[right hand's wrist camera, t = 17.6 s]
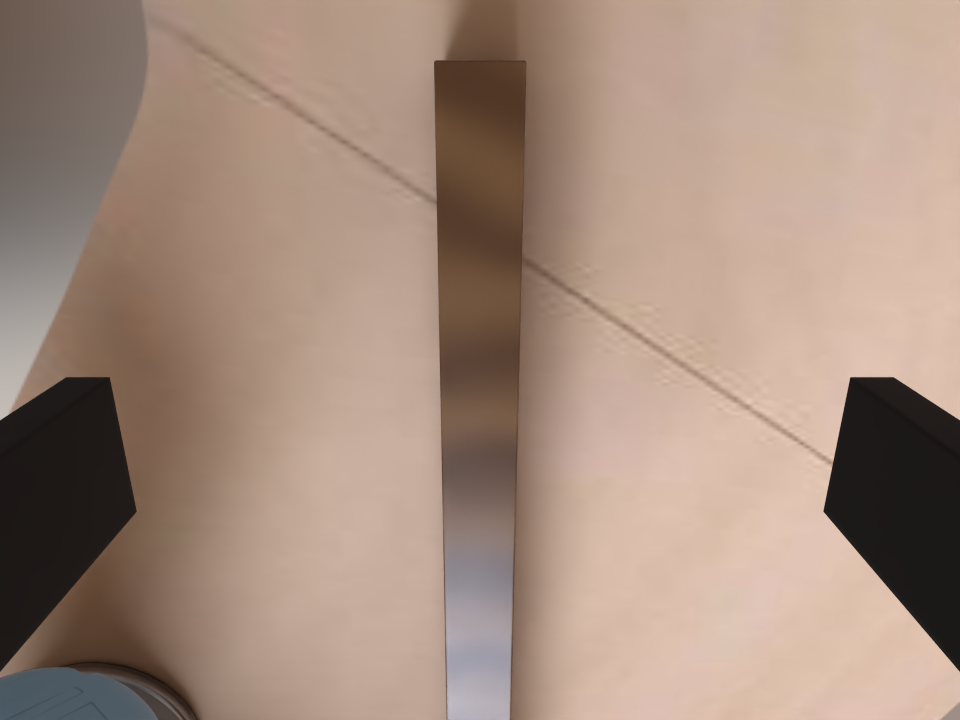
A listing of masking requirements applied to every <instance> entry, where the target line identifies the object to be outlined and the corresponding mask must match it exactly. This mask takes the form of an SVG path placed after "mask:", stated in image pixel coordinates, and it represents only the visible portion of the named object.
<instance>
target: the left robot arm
mask: <svg viewBox="0 0 960 720" xmlns="http://www.w3.org/2000/svg"><path fill="white" fill-rule="evenodd" d="M0 720H196V718H195V716H194V714H193V713H192V711H191V710H190V708H189V707H188V706H187V704H186V703H185V702H184V701H183V700H182V699H181V698H180V697H179V696H178V695H177V694H176V693H175V692H174V691H172V690H171V689H170V688H168V687H167V686H166V685H164V684H163V683H161V682H159V681H158V680H156V679H154V678H152V677H150V676H148V675H146V674H144V673H141V672H139V671H136V670H133V669H130V668H126V667H122V666H118V665H112V664H104V663H81V664H73V665H69V666H64V667H48V668H37V669H31V670H26V671H22V672H17V673H14V674H11V675H8V676H5V677H2V678H0Z"/></svg>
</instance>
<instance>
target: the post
mask: <svg viewBox="0 0 960 720" xmlns="http://www.w3.org/2000/svg"><path fill="white" fill-rule="evenodd" d="M434 79H435V131H436V183H437V235H438V287H439V339H440V391H441V443H442V495H443V547H444V599H445V651H446V703H447V720H511V692H512V650H513V608H514V565H515V523H516V481H517V438H518V396H519V354H520V311H521V269H522V227H523V185H524V142H525V100H526V61H435V62H434Z"/></svg>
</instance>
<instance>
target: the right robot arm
mask: <svg viewBox="0 0 960 720" xmlns="http://www.w3.org/2000/svg"><path fill="white" fill-rule="evenodd" d="M136 512H137V511H136V506H135V501H134V496H133V491H132V486H131V481H130V476H129V471H128V466H127V461H126V456H125V451H124V447H123V442H122V437H121V432H120V427H119V422H118V417H117V412H116V407H115V402H114V397H113V392H112V387H111V382H110V377H66V378H65V379H63V380H62V381H60V382H58V383H57V384H55V385H54V386H52V387H51V388H49V389H48V390H46V391H45V392H43V393H42V394H40V395H38V396H37V397H35V398H34V399H32V400H31V401H29V402H28V403H26V404H25V405H23V406H22V407H20V408H18V409H17V410H15V411H14V412H12V413H11V414H9V415H8V416H6V417H5V418H3V419H2V420H0V671H1V670H2V669H3V668H4V667H5V665H6V664H7V663H8V662H9V661H10V659H11V658H12V657H13V656H14V655H15V654H16V652H17V651H18V650H19V649H20V648H21V647H22V645H23V644H24V643H25V642H26V641H27V640H28V638H29V637H30V636H31V635H32V634H33V632H34V631H35V630H36V629H37V628H38V627H39V625H40V624H41V623H42V622H43V621H44V620H45V618H46V617H47V616H48V615H49V614H50V613H51V611H52V610H53V609H54V608H55V607H56V605H57V604H58V603H59V602H60V601H61V600H62V598H63V597H64V596H65V595H66V594H67V593H68V591H69V590H70V589H71V588H72V587H73V586H74V584H75V583H76V582H77V581H78V580H79V579H80V577H81V576H82V575H83V574H84V573H85V571H86V570H87V569H88V568H89V567H90V566H91V564H92V563H93V562H94V561H95V560H96V559H97V557H98V556H99V555H100V554H101V553H102V552H103V550H104V549H105V548H106V547H107V546H108V544H109V543H110V542H111V541H112V540H113V539H114V537H115V536H116V535H117V534H118V533H119V532H120V530H121V529H122V528H123V527H124V526H125V525H126V523H127V522H128V521H129V520H130V519H131V517H132V516H133V515H134V514H135V513H136ZM823 512H824V513H825V514H826V515H827V516H828V517H829V519H830V520H831V521H832V522H833V523H834V525H835V526H836V527H837V528H838V529H839V530H840V532H841V533H842V534H843V535H844V536H845V537H846V539H847V540H848V541H849V542H850V543H851V544H852V546H853V547H854V548H855V549H856V550H857V552H858V553H859V554H860V555H861V556H862V557H863V559H864V560H865V561H866V562H867V563H868V564H869V566H870V567H871V568H872V569H873V570H874V571H875V573H876V574H877V575H878V576H879V577H880V579H881V580H882V581H883V582H884V583H885V584H886V586H887V587H888V588H889V589H890V590H891V591H892V593H893V594H894V595H895V596H896V597H897V598H898V600H899V601H900V602H901V603H902V604H903V605H904V607H905V608H906V609H907V610H908V611H909V613H910V614H911V615H912V616H913V617H914V618H915V620H916V621H917V622H918V623H919V624H920V625H921V627H922V628H923V629H924V630H925V631H926V632H927V634H928V635H929V636H930V637H931V638H932V640H933V641H934V642H935V643H936V644H937V645H938V647H939V648H940V649H941V650H942V651H943V652H944V654H945V655H946V656H947V657H948V658H949V659H950V661H951V662H952V663H953V664H954V665H955V667H956V668H957V669H958V670H959V671H960V420H958V419H957V418H955V417H954V416H952V415H951V414H949V413H948V412H946V411H945V410H943V409H942V408H940V407H938V406H937V405H935V404H934V403H932V402H931V401H929V400H928V399H926V398H925V397H923V396H922V395H920V394H918V393H917V392H915V391H914V390H912V389H911V388H909V387H908V386H906V385H905V384H903V383H902V382H900V381H898V380H897V379H895V378H894V377H850V382H849V387H848V392H847V397H846V402H845V407H844V412H843V417H842V422H841V427H840V432H839V437H838V442H837V447H836V451H835V456H834V461H833V466H832V471H831V476H830V481H829V486H828V491H827V496H826V501H825V506H824V511H823Z"/></svg>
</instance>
